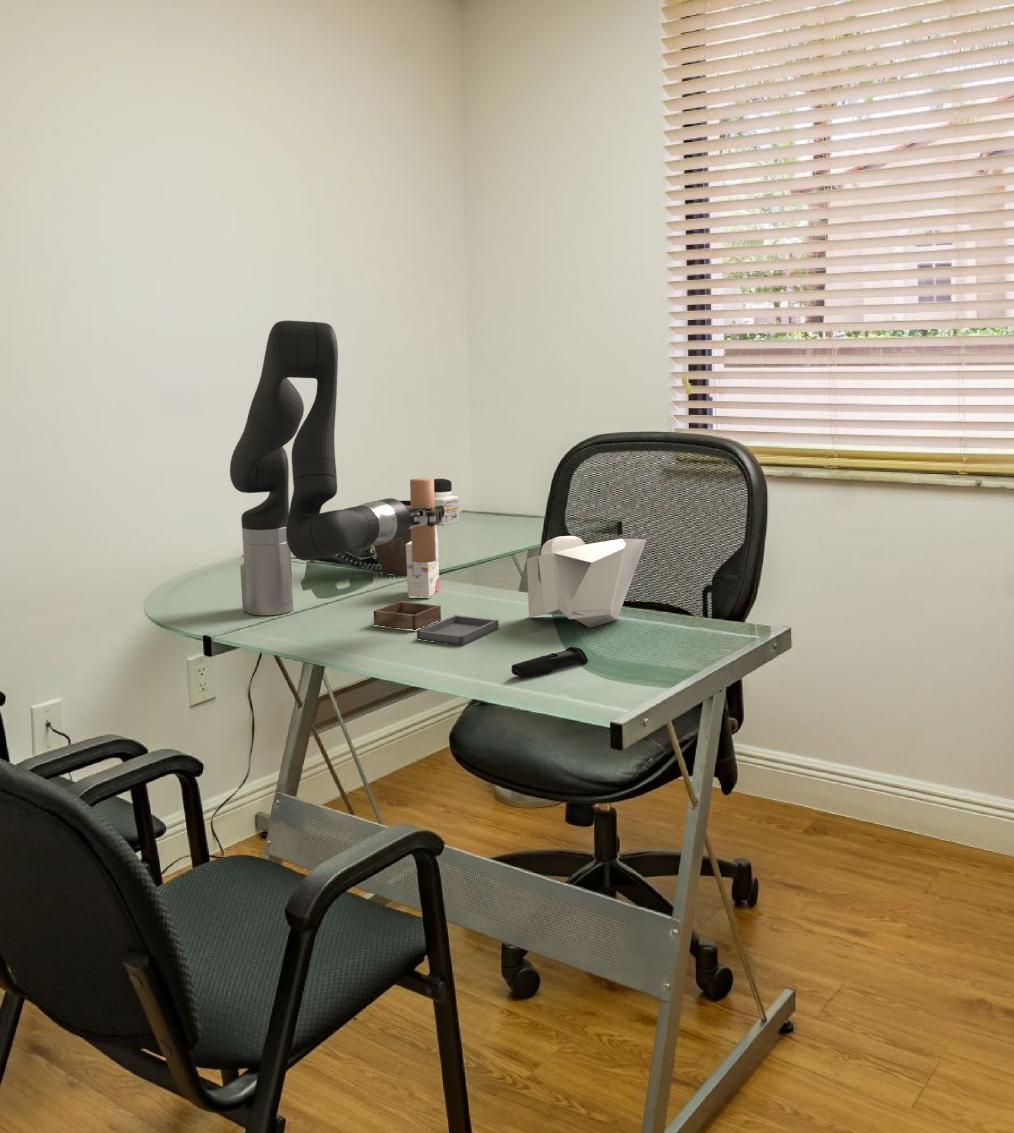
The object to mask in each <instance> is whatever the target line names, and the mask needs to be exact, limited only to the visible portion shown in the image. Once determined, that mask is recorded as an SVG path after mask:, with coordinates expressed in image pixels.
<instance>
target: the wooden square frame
mask: <svg viewBox="0 0 1014 1133" xmlns="http://www.w3.org/2000/svg"><path fill="white" fill-rule="evenodd" d="M441 609H442V606H441V605H438V604H437V605H436V604H429V603H419V602H411V601H402V600H399V601H397V602H394V603H392V604H389V605H386V606H384V607H381V608H378V609H375V610H373V626H374V625H378V626H385V627H389V628H388V629H390V627H391V628H400V629H401V628H402V629H413V630H416V629H418V628H422V627H423V626H427V625H429V624H431V623H433V622H436V621H440V620H441V621H442V610H441Z"/></svg>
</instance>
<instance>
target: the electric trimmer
mask: <svg viewBox="0 0 1014 1133" xmlns="http://www.w3.org/2000/svg"><path fill="white" fill-rule="evenodd" d="M587 663H589V658H588V657H587V655H586V653H585V652H584V650H583V649H581V648H580V647H577V646H569V647H568V648H566V649H565V650H562V651H559V652H555V653H553V652H551V653H549V654H547V655H541V656H537V657H535V658H531V659H528V660H524V661H521V662H518V663H514V664H512V665H511V674H512V675H514V676H516V677H520V678H525V677H526V678H527V677H532V676H540V675H546V674H551V673H553V671H554V670H558V669H563V668H565V667H571V666H573V665H578V664H581V665H586V664H587Z"/></svg>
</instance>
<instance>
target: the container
mask: <svg viewBox="0 0 1014 1133" xmlns="http://www.w3.org/2000/svg"><path fill="white" fill-rule="evenodd" d="M433 479H434V501H435V506H439V505H441V506H444V508H445V516H444V517H442V522H440V523H439V524H437V525H439V526H446V525H450V524H454V523H458V522H459V523H460V508H459V507H460V502H459V500H460V499H459V496H457V495H452V493H453V490H452V488H453V487H452V483H453V482H452V480H451V479H449V478H433ZM437 525H436V526H437Z"/></svg>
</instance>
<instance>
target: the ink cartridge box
mask: <svg viewBox="0 0 1014 1133" xmlns="http://www.w3.org/2000/svg"><path fill="white" fill-rule="evenodd" d="M435 546H436V561H434V562H426V563H419V562H413V561H412V541H411V542H409V543H407V544H406V560H407V575H406V578H407V580H406V581H407V597H408V596H417V597H421V596H422V597H430V596H431V595H433V593H435V592H436V591H437V590H439V591H440V569H439V568H440V567H439V566H440V564H439V536H438V530H437V525H435ZM435 594H436V593H435ZM433 596H434V595H433Z"/></svg>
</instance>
